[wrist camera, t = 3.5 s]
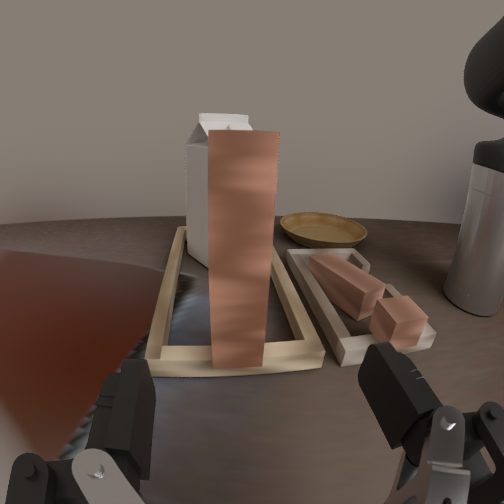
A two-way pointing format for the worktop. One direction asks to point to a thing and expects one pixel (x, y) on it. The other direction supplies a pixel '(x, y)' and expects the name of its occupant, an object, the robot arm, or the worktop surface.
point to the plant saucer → (323, 230)
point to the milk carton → (203, 178)
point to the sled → (236, 272)
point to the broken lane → (357, 303)
